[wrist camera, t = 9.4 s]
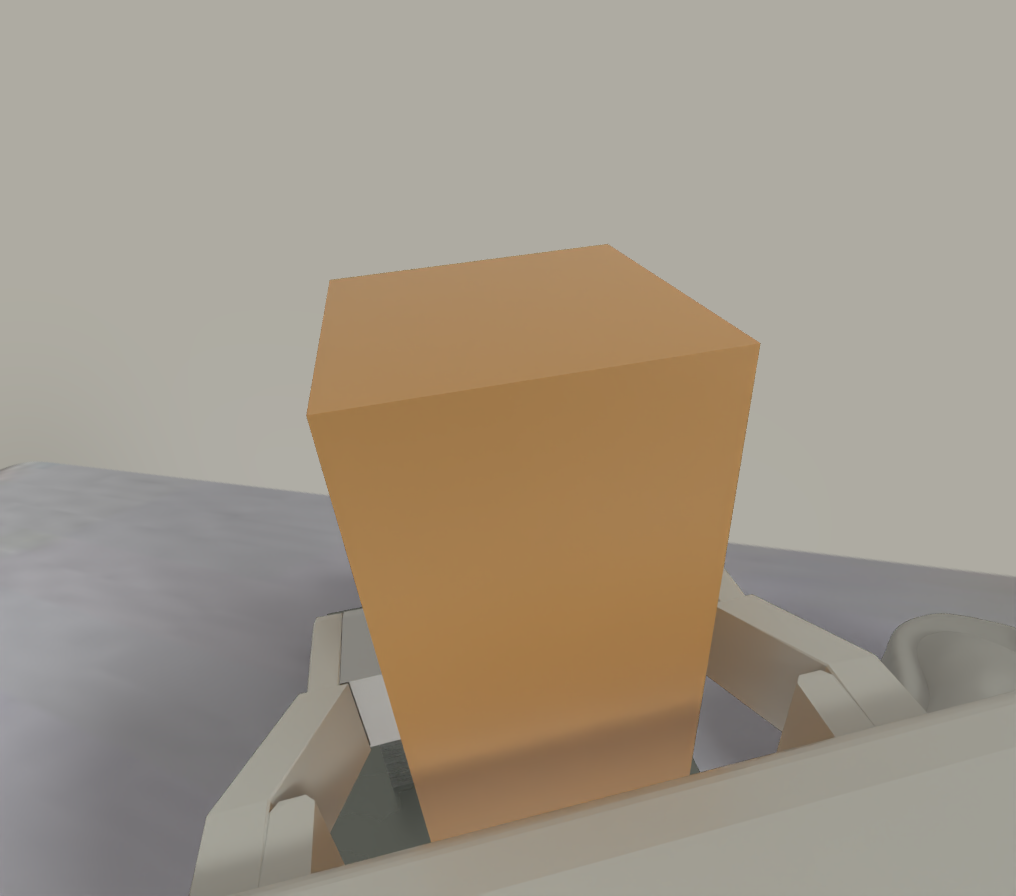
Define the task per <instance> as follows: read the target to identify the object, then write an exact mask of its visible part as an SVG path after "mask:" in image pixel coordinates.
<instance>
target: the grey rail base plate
mask: <svg viewBox="0 0 1016 896" xmlns="http://www.w3.org/2000/svg"><path fill="white" fill-rule="evenodd" d="M358 609H363V608H362V607H361V608H356V609H350V610H345V611H340V612H335V613H330V614H327V616H328V615H333V614H339V613H344V612H347V611H352V610H358ZM370 749H371V751H370V753H369V755H368V757H367V759H366V761H365V763H364V765H363V767H362V769H361V771H360V773H359V775H358V777H357V779H356V781H355V783H354V785H353V787H352V789H351V791H350V793H349V796H348V798H347V800H346V802H345V804H344V806H343V808H342V810H341V812H340V814H339V816H338V818H337V820H336V822H335V824H334V826H333V828H332V830H331V832H330V834H331V836H332V838H333V841H334V843H335V845H336V847H337V849H338V851H339V854H340V856H341V858H342V860H343V862H344V864H345V865H347V864H351V863H355V862H359V861H362V860H366V859H370V858H374V857H378V856H382V855H386V854H389V853H393V852H397V851H401V850H405V849H409V848H412V847H416V846H420V845H424V844H428V843H431V840H430V837H429V834H428V830H427V827H426V823H425V820H424V817H423V813H422V810H421V806H420V803H419V799H418V796H417V793H416V789H415V786H414V782H413V779H412V775H411V772H410V769H409V765H408V762H407V758H406V755H405V751H404V748H403V745H402V741H401V739H399V740H395V741H392V742H388V743H384V744H380V745H377V746H373V747H370ZM696 773H700V771H699V769H698V767H697V765H696V763H695V761H694V759H693V757H692V763H691V769H690V775H692V774H696Z"/></svg>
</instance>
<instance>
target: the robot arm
mask: <svg viewBox="0 0 1016 896" xmlns="http://www.w3.org/2000/svg"><path fill="white" fill-rule="evenodd" d="M706 675H707V676H708V677H709V678H711V679H712V680H713V681H715V682H716V683H717V684H719V685H720V686H721V687H723V688H724V689H725V690H727V691H728V692H729V693H731V694H732V695H733V696H735V697H736V698H737V699H739V700H740V701H741V702H743V703H744V704H745V705H747V706H748V707H749V708H751V709H752V710H753V711H755V712H756V713H757V714H759V715H760V716H761V717H763V718H764V719H765V720H767V721H768V722H769V723H771V724H772V725H773V726H775V727H776V728H777V729H779V730H780V731H781V732H782V735H781V738H780V742H779V745H778V748H777V752H776V753H773V754H769V755H765V756H761V757H758V758H754V759H750V760H746V761H742V762H738V763H735V764H731V765H727V766H723V767H719V768H715V769H712V770H708V771H704V772H700V773H696V774H692V775H689V776H685V777H681V778H677V779H673V780H669V781H666V782H662V783H658V784H654V785H650V786H646V787H643V788H639V789H635V790H631V791H627V792H623V793H620V794H616V795H612V796H608V797H604V798H600V799H597V800H593V801H589V802H585V803H581V804H577V805H574V806H570V807H566V808H562V809H558V810H554V811H551V812H547V813H543V814H539V815H535V816H531V817H528V818H524V819H520V820H516V821H512V822H508V823H505V824H501V825H497V826H493V827H489V828H485V829H482V830H478V831H474V832H470V833H466V834H462V835H459V836H455V837H451V838H447V839H443V840H439V841H435V842H432V843H428V844H424V845H420V846H416V847H412V848H409V849H405V850H401V851H397V852H393V853H389V854H386V855H382V856H378V857H374V858H370V859H366V860H362V861H359V862H355V863H351V864H347V865H345V864H344V862H343V860H342V858H341V856H340V854H339V851H338V849H337V847H336V845H335V843H334V841H333V838H332V836H331V834H330V832H331V830H332V828H333V826H334V824H335V822H336V820H337V818H338V816H339V814H340V812H341V810H342V808H343V806H344V804H345V802H346V800H347V798H348V796H349V793H350V791H351V789H352V787H353V785H354V783H355V781H356V779H357V777H358V775H359V773H360V771H361V769H362V767H363V765H364V763H365V761H366V759H367V757H368V755H369V753H370V751H371V749H370V747H373V746H377V745H380V744H384V743H388V742H392V741H395V740H399V739H401V738H400V734H399V731H398V728H397V724H396V721H395V717H394V714H393V710H392V707H391V704H390V700H389V697H388V693H387V690H386V686H385V683H384V680H383V676H382V673H381V669H380V666H379V663H378V659H377V656H376V652H375V649H374V645H373V642H372V639H371V635H370V632H369V628H368V625H367V621H366V618H365V615H364V611H363V609H358V610H352V611H347V612H344V613H339V614H333V615H328V616H322V617H317V618H316V620H315V622H314V625H313V635H312V645H311V655H310V666H309V676H308V687H307V692H306V693H302V694H298V696H297V697H296V698H295V700H294V701H293V702H292V704H291V705H290V706H289V708H288V709H287V710H286V712H285V713H284V714H283V716H282V717H281V718H280V720H279V721H278V722H277V724H276V725H275V726H274V728H273V729H272V730H271V732H270V733H269V734H268V736H267V737H266V738H265V739H264V741H263V742H262V743H261V745H260V746H259V747H258V749H257V750H256V751H255V753H254V754H253V755H252V757H251V758H250V759H249V761H248V762H247V763H246V765H245V766H244V767H243V769H242V770H241V771H240V773H239V774H238V775H237V777H236V778H235V779H234V781H233V782H232V783H231V784H230V786H229V787H228V788H227V790H226V791H225V792H224V794H223V795H222V796H221V798H220V799H219V800H218V802H217V803H216V804H215V806H214V807H213V808H212V810H211V811H210V812H209V814H208V815H207V817H206V821H205V826H204V830H203V835H202V839H201V844H200V848H199V853H198V857H197V862H196V866H195V871H194V876H193V880H192V885H191V889H190V894H189V896H1016V690H1015V691H1011V692H1007V693H1003V694H1000V695H996V696H992V697H988V698H984V699H980V700H976V701H973V702H969V703H965V704H961V705H957V706H953V707H950V708H946V709H942V710H938V711H934V712H930V713H927V712H926V711H925V710H924V709H923V708H922V706H921V705H920V704H919V703H918V702H917V701H916V700H915V699H914V698H913V696H912V695H911V694H910V693H909V692H908V691H907V690H906V689H905V688H904V686H903V685H902V684H901V683H900V682H899V681H898V680H897V679H896V677H895V676H894V675H893V674H892V673H891V672H890V671H889V670H888V669H887V667H886V666H885V665H884V664H883V663H882V662H881V661H880V660H879V658H878V657H877V656H876V655H874V654H872V653H870V652H868V651H866V650H864V649H862V648H860V647H858V646H856V645H854V644H852V643H850V642H848V641H846V640H844V639H842V638H840V637H838V636H836V635H834V634H832V633H830V632H828V631H826V630H824V629H822V628H819V627H817V626H815V625H813V624H811V623H809V622H807V621H805V620H803V619H801V618H799V617H797V616H795V615H793V614H791V613H789V612H787V611H785V610H783V609H781V608H779V607H777V606H775V605H773V604H771V603H769V602H767V601H765V600H763V599H761V598H759V597H757V596H755V595H753V594H752V595H747V596H745V595H744V593H743V592H742V591H741V589H740V588H739V587H738V585H737V584H736V583H735V581H734V580H733V579H732V577H731V576H730V575H729V573H728V572H727V571H726V570H725V568H723V574H722V580H721V587H720V593H719V599H718V605H717V611H716V617H715V623H714V629H713V635H712V641H711V647H710V654H709V660H708V666H707V672H706Z"/></svg>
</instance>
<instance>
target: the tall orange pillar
mask: <svg viewBox="0 0 1016 896" xmlns="http://www.w3.org/2000/svg"><path fill="white" fill-rule="evenodd" d="M759 349H760V343H759V342H758V341H756V340H755V339H753V338H752V337H750V336H748V335H747V334H745V333H744V332H742V331H741V330H739V329H738V328H736V327H735V326H733V325H732V324H730V323H728V322H727V321H725V320H724V319H722V318H721V317H719V316H717V315H716V314H715V313H713V312H711V311H710V310H708V309H707V308H705V307H704V306H702V305H700V304H699V303H698V302H696V301H695V300H693V299H691V298H690V297H688V296H687V295H685V294H684V293H682V292H681V291H679V290H677V289H676V288H675V287H673V286H671V285H670V284H668V283H667V282H665V281H664V280H662V279H661V278H659V277H658V276H656V275H654V274H653V273H651V272H650V271H648V270H647V269H645V268H644V267H642V266H640V265H639V264H637V263H636V262H634V261H633V260H631V259H630V258H628V257H627V256H625V255H624V254H622V253H621V252H619V251H618V250H616V249H614V248H613V247H611V246H610V245H608V244H604V245H596V246H588V247H581V248H573V249H565V250H558V251H550V252H542V253H534V254H527V255H519V256H511V257H504V258H496V259H488V260H480V261H473V262H465V263H457V264H450V265H442V266H434V267H427V268H419V269H411V270H403V271H395V272H388V273H380V274H373V275H365V276H357V277H350V278H341V279H334V280H330V282H329V287H328V293H327V299H326V305H325V311H324V316H323V322H322V329H321V334H320V339H319V345H318V351H317V357H316V363H315V368H314V375H313V380H312V386H311V392H310V397H309V403H308V409H307V415H306V416H307V419H308V423H309V426H310V430H311V433H312V437H313V440H314V443H315V447H316V450H317V454H318V457H319V461H320V464H321V467H322V471H323V474H324V478H325V481H326V485H327V488H328V491H329V495H330V498H331V502H332V505H333V508H334V512H335V515H336V519H337V522H338V526H339V529H340V532H341V536H342V539H343V543H344V546H345V550H346V553H347V556H348V560H349V563H350V567H351V570H352V574H353V577H354V580H355V584H356V587H357V591H358V594H359V597H360V601H361V604H362V608H363V611H364V615H365V618H366V621H367V625H368V628H369V632H370V635H371V639H372V642H373V645H374V649H375V652H376V656H377V659H378V663H379V666H380V669H381V673H382V676H383V680H384V683H385V686H386V690H387V693H388V697H389V700H390V704H391V707H392V710H393V714H394V717H395V721H396V724H397V728H398V731H399V734H400V738H401V741H402V745H403V748H404V751H405V755H406V758H407V762H408V765H409V769H410V772H411V775H412V779H413V782H414V786H415V789H416V793H417V796H418V799H419V803H420V806H421V810H422V813H423V817H424V820H425V823H426V827H427V830H428V834H429V837H430V840H431V843H432V842H435V841H439V840H443V839H447V838H451V837H455V836H459V835H462V834H466V833H470V832H474V831H478V830H482V829H485V828H489V827H493V826H497V825H501V824H505V823H508V822H512V821H516V820H520V819H524V818H528V817H531V816H535V815H539V814H543V813H547V812H551V811H554V810H558V809H562V808H566V807H570V806H574V805H577V804H581V803H585V802H589V801H593V800H597V799H600V798H604V797H608V796H612V795H616V794H620V793H623V792H627V791H631V790H635V789H639V788H643V787H646V786H650V785H654V784H658V783H662V782H666V781H669V780H673V779H677V778H681V777H685V776H689V775H690V769H691V763H692V757H693V751H694V745H695V739H696V733H697V727H698V721H699V714H700V708H701V702H702V696H703V690H704V684H705V678H706V672H707V666H708V660H709V654H710V647H711V641H712V635H713V629H714V623H715V617H716V611H717V605H718V599H719V593H720V587H721V580H722V574H723V568H724V562H725V556H726V550H727V544H728V538H729V531H730V525H731V520H732V513H733V507H734V501H735V494H736V489H737V483H738V477H739V471H740V465H741V459H742V452H743V446H744V440H745V434H746V428H747V422H748V416H749V410H750V404H751V398H752V392H753V386H754V379H755V373H756V367H757V360H758V355H759Z"/></svg>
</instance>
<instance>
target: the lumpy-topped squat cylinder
mask: <svg viewBox="0 0 1016 896" xmlns="http://www.w3.org/2000/svg"><path fill="white" fill-rule="evenodd" d="M881 662H882V663H883V664H884V665H885V666H886V667H887V669H888V670H889V671H890V672H891V673H892V674H893V675H894V676H895V677H896V679H897V680H898V681H899V682H900V683H901V684H902V685H903V686H904V688H905V689H906V690H907V691H908V692H909V693H910V694H911V695H912V696H913V698H914V699H915V700H916V701H917V702H918V703H919V704H920V705H921V706H922V708H923V709H924V710H925V711H926V712H927V713H930V712H934V711H938V710H942V709H946V708H950V707H953V706H957V705H961V704H965V703H969V702H973V701H976V700H980V699H984V698H988V697H992V696H996V695H1000V694H1003V693H1007V692H1011V691H1015V690H1016V628H1015V627H1011V626H1007V625H1004V624H1000V623H996V622H991V621H986V620H982V619H978V618H973V617H967V616H961V615H954V614H945V613H941V614H930V615H925V616H921V617H917V618H914V619H912V620H909V621H907V622H905V623H903V624H902V625H900V626H899V627H898V628H897V629H896V630H895V631H894V632H893V634H892V636H891V638H890V640H889V642H888V645H887V648H886V651H885V653H884V655H883V657H882V659H881Z"/></svg>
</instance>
